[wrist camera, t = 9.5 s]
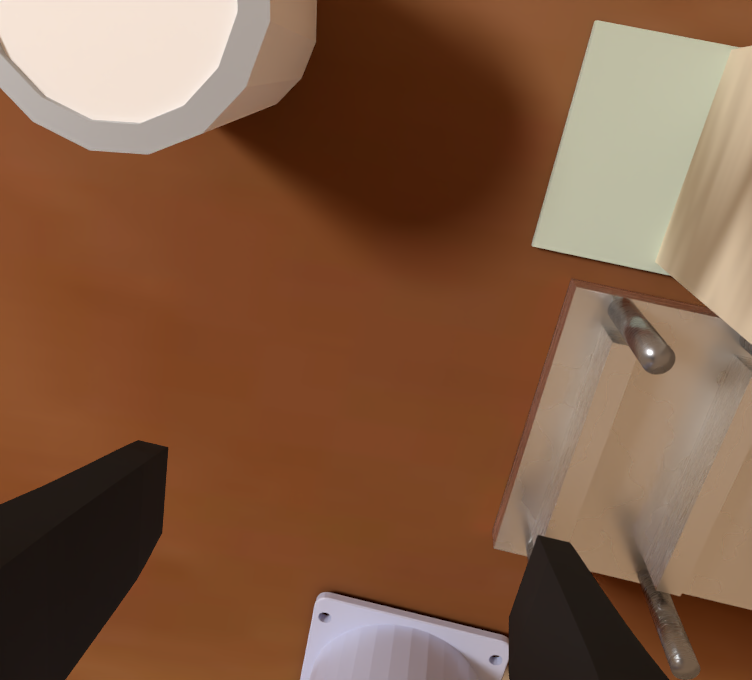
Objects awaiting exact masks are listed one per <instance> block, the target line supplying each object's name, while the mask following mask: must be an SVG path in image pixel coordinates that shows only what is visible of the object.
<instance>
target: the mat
mask: <svg viewBox="0 0 752 680" xmlns="http://www.w3.org/2000/svg"><path fill="white" fill-rule="evenodd" d="M738 48H739V47H734V46H729V45H724V44H718V43H713V42H708V41H703V40H697V39H692V38H687V37H682V36H676V35H671V34H666V33H661V32H656V31H650V30H645V29H640V28H635V27H629V26H624V25H619V24H614V23H609V22H603V21H598V20H596V21H594V25H593V28H592V32H591V35H590V39H589V42H588V46H587V50H586V53H585V57H584V60H583V64H582V67H581V71H580V74H579V78H578V81H577V85H576V89H575V92H574V96H573V99H572V103H571V106H570V110H569V113H568V117H567V120H566V124H565V128H564V131H563V135H562V138H561V142H560V145H559V149H558V152H557V156H556V159H555V163H554V167H553V170H552V174H551V177H550V181H549V184H548V188H547V191H546V195H545V199H544V202H543V206H542V209H541V213H540V216H539V220H538V223H537V227H536V230H535V234H534V238H533V241H532V246H533V247H538V248H542V249H547V250H552V251H556V252H561V253H566V254H571V255H575V256H580V257H585V258H589V259H594V260H599V261H604V262H608V263H613V264H618V265H622V266H627V267H632V268H637V269H641V270H646V271H651V272H655V273H660V274H665V275H670V274H668V273H667V272H666V271H665V270H664V269H663V268H661V267H660V266H659V265H658V264H657V263H656V262H655V261H656V258H657V255H658V252H659V249H660V247H661V244H662V241H663V238H664V236H665V233H666V230H667V227H668V224H669V222H670V219H671V216H672V213H673V211H674V208H675V205H676V202H677V199H678V197H679V194H680V191H681V188H682V185H683V183H684V180H685V177H686V174H687V172H688V169H689V166H690V163H691V160H692V158H693V155H694V152H695V149H696V147H697V144H698V141H699V138H700V135H701V133H702V130H703V127H704V124H705V121H706V119H707V116H708V113H709V110H710V108H711V105H712V102H713V99H714V96H715V94H716V91H717V88H718V85H719V83H720V80H721V77H722V74H723V71H724V69H725V66H726V63H727V60H728V57H729V55H730V52H731V50H733V49H738ZM670 276H671V275H670Z"/></svg>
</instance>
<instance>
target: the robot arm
mask: <svg viewBox="0 0 752 680" xmlns="http://www.w3.org/2000/svg"><path fill="white" fill-rule="evenodd" d="M167 458H168V447H165V446H160V445H156V444H152V443H148V442H144V441H139V440H138V441H135V442H133V443H131V444H129V445H126V446H124V447H122V448H120V449H118V450H116V451H114V452H112V453H110V454H108V455H106V456H104V457H102V458H100V459H98V460H96V461H94V462H92V463H90V464H88V465H86V466H84V467H82V468H80V469H77V470H75V471H73V472H71V473H69V474H67V475H65V476H63V477H61V478H59V479H57V480H55V481H53V482H50V483H48V484H46V485H44V486H42V487H40V488H37V489H35V490H33V491H30V492H28V493H26V494H23V495H21V496H19V497H16V498H14V499H12V500H10V501H7V502H5V503H3V504H0V680H65V679H66V678H67V677H68V675H69V674H70V672H71V671H72V670H73V668H74V667H75V665H76V664H77V663H78V661H79V660H80V658H81V657H82V656H83V654H84V653H85V651H86V650H87V649H88V647H89V646H90V645H91V643H92V642H93V640H94V639H95V638H96V636H97V635H98V633H99V632H100V631H101V629H102V628H103V626H104V625H105V624H106V622H107V621H108V620H109V618H110V617H111V615H112V614H113V613H114V611H115V610H116V608H117V607H118V605H119V604H120V603H121V601H122V600H123V598H124V597H125V596H126V594H127V593H128V591H129V590H130V588H131V587H132V586H133V584H134V583H135V581H136V580H137V578H138V577H139V575H140V573H141V571H142V569H143V568H144V566H145V564H146V562H147V560H148V559H149V557H150V555H151V553H152V551H153V549H154V547H155V545H156V543H157V541H158V539H159V538H160V536H161V534H162V527H163V513H164V500H165V486H166V472H167ZM322 612H323V613H328V614H329V615H324V614H322ZM493 655H498V656H499V657H492V656H493ZM508 661H509V679H510V680H669V679H668V678H667V676H666V675H665V674H664V673H663V671H662V670H661V669H660V668H659V666H658V665H657V664H656V663H655V661H654V660H653V659H652V658H651V656H650V655H649V654H648V653H647V651H646V650H645V649H644V647H643V646H642V645H641V643H640V642H639V641H638V639H637V638H636V637H635V635H634V634H633V633H632V631H631V630H630V629H629V627H628V626H627V624H626V623H625V622H624V620H623V619H622V617H621V616H620V615H619V613H618V612H617V610H616V609H615V608H614V606H613V605H612V603H611V602H610V600H609V599H608V597H607V596H606V595H605V593H604V592H603V590H602V589H601V587H600V586H599V584H598V583H597V581H596V580H595V578H594V577H593V575H592V574H591V572H590V571H589V569H588V568H587V566H586V565H585V563H584V562H583V560H582V559H581V557H580V556H579V554H578V553H577V551H576V550H575V549H574V547H573V546H572V544H571V543H570V542H566V541H562V540H558V539H553V538H549V537H545V536H541V535H537V538H536V541H535V544H534V547H533V550H532V553H531V556H530V559H529V561H528V564H527V567H526V570H525V573H524V576H523V579H522V582H521V584H520V587H519V590H518V593H517V596H516V599H515V602H514V605H513V607H512V610H511V613H510V616H509V639H508V638H507V637H506V636H504V635H501V634H497V633H493V632H489V631H485V630H481V629H476V628H472V627H468V626H464V625H460V624H456V623H452V622H448V621H444V620H440V619H436V618H432V617H428V616H424V615H420V614H416V613H412V612H408V611H404V610H399V609H395V608H391V607H387V606H383V605H379V604H375V603H371V602H367V601H363V600H359V599H355V598H351V597H347V596H343V595H339V594H335V593H331V592H324V593H321V594H319V595H318V597H317V599H316V602H315V606H314V611H313V616H312V621H311V626H310V632H309V637H308V642H307V647H306V652H305V657H304V662H303V668H302V673H301V678H300V680H502V678H503V675H504V672H505V670H506V667H507V664H508Z"/></svg>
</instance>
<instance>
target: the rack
mask: <svg viewBox="0 0 752 680" xmlns="http://www.w3.org/2000/svg"><path fill="white" fill-rule="evenodd" d="M537 535H541V536H545V537H549V538H553V539H558V540H562V541H566V542H570V543H571V544H572V546H573V547H574V549H575V550H576V551H577V553H578V554H579V556H580V557H581V559H582V560H583V562H584V563H585V565H586V566H587V568H588V569H589V571H591V572H595V573H599V574H603V575H607V576H612V577H616V578H620V579H624V580H628V581H633V582H637V583H640V585H641V588H642V591H643V593H644V596H645V599H646V602H647V605H648V607H649V610H650V613H651V616H652V618H653V621H654V624H655V627H656V629H657V632H658V635H659V638H660V641H661V643H662V646H663V649H664V652H665V654H666V657H667V660H668V663H669V666H670V668H671V671H672V673H673V675H674V676H675V677H677V678H679V679H682V680H689V679H692V678H695V677H696V676H697V675H698V674H699V672H700V666H699V664H698V661H697V659H696V656H695V654H694V651H693V649H692V647H691V644H690V642H689V639H688V637H687V635H686V632H685V630H684V627H683V625H682V622H681V620H680V618H679V615H678V613H677V610H676V608H675V606H674V603H673V601H672V598H671V596H670V594H673V595H677V596H681V594H682V593H683V594H687V595H691V596H695V597H699V598H704V599H708V600H712V601H716V602H720V603H724V604H729V605H733V606H737V607H741V608H745V609H750V610H752V344H750V343H749V342H748V341H747V340H746V339H745V338H743V337H742V336H741V335H740V334H739V333H738V332H736V331H735V330H734V329H733V328H732V327H731V326H729V325H728V324H727V323H726V322H725V321H724V320H722V319H721V318H720V317H719V316H718V315H716V314H715V313H714V312H713V311H712V310H711V309H709V308H706V307H701V306H697V305H692V304H687V303H683V302H678V301H673V300H669V299H664V298H659V297H655V296H650V295H645V294H641V293H636V292H631V291H627V290H622V289H617V288H613V287H608V286H603V285H599V284H594V283H589V282H585V281H580V280H575V279H571V281H570V284H569V288H568V291H567V294H566V297H565V301H564V304H563V307H562V310H561V313H560V317H559V320H558V323H557V326H556V329H555V333H554V336H553V339H552V342H551V345H550V349H549V352H548V355H547V358H546V361H545V365H544V368H543V371H542V374H541V377H540V381H539V384H538V387H537V390H536V393H535V397H534V400H533V403H532V406H531V409H530V413H529V416H528V419H527V422H526V425H525V429H524V432H523V435H522V438H521V441H520V445H519V448H518V451H517V454H516V458H515V461H514V464H513V467H512V470H511V474H510V477H509V480H508V483H507V486H506V490H505V493H504V496H503V499H502V502H501V506H500V509H499V512H498V515H497V518H496V522H495V525H494V528H493V545H494V548H495V549H499V550H503V551H507V552H511V553H516V554H520V555H524V556H527V558H528V561H529V559H530V556H531V553H532V550H533V547H534V544H535V541H536V538H537Z"/></svg>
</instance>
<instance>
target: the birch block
mask: <svg viewBox="0 0 752 680" xmlns="http://www.w3.org/2000/svg"><path fill="white" fill-rule="evenodd" d="M655 262H656V263H657V264H658V265H659V266H660V267H661V268H663V269H664V270H665V271H666V272H667V273H668V274H670V275H671V276H672V277H673V278H674V279H676V280H677V281H678V282H679V283H680V284H681V285H683V286H684V287H685V288H686V289H687V290H688V291H690V292H691V293H692V294H693V295H694V296H695V297H697V298H698V299H699V300H700V301H701V302H702V303H704V304H705V305H706V306H707V307H708V308H709V309H711V310H712V311H713V312H714V313H715V314H716V315H718V316H719V317H720V318H721V319H722V320H724V321H725V322H726V323H727V324H728V325H729V326H731V327H732V328H733V329H734V330H735V331H736V332H738V333H739V334H740V335H741V336H742V337H743V338H745V339H746V340H747V341H748V342H749V343H750V344H752V46H749V47H743V48H738V49H733V50H731V52H730V55H729V57H728V60H727V63H726V66H725V69H724V71H723V74H722V77H721V80H720V83H719V85H718V88H717V91H716V94H715V96H714V99H713V102H712V105H711V108H710V110H709V113H708V116H707V119H706V121H705V124H704V127H703V130H702V133H701V135H700V138H699V141H698V144H697V147H696V149H695V152H694V155H693V158H692V160H691V163H690V166H689V169H688V172H687V174H686V177H685V180H684V183H683V185H682V188H681V191H680V194H679V197H678V199H677V202H676V205H675V208H674V211H673V213H672V216H671V219H670V222H669V224H668V227H667V230H666V233H665V236H664V238H663V241H662V244H661V247H660V249H659V252H658V255H657V258H656V261H655Z"/></svg>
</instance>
